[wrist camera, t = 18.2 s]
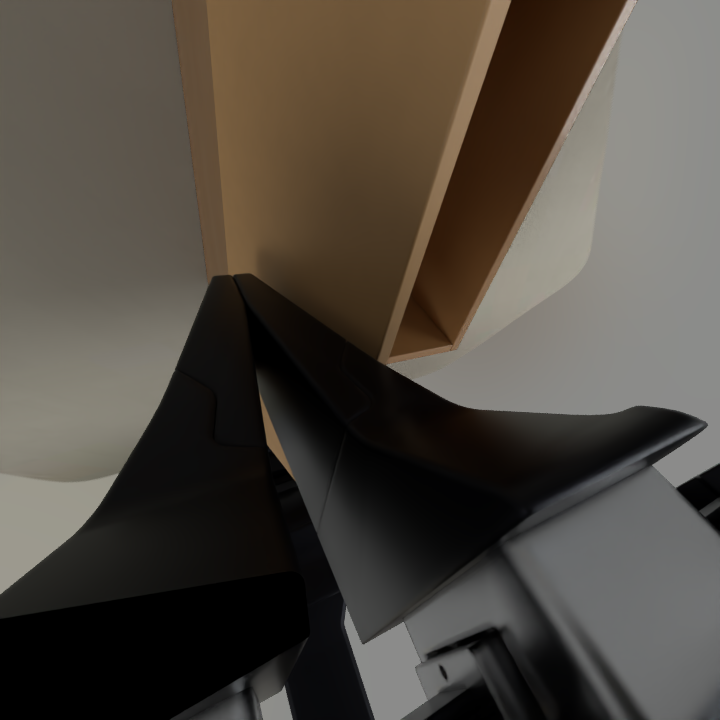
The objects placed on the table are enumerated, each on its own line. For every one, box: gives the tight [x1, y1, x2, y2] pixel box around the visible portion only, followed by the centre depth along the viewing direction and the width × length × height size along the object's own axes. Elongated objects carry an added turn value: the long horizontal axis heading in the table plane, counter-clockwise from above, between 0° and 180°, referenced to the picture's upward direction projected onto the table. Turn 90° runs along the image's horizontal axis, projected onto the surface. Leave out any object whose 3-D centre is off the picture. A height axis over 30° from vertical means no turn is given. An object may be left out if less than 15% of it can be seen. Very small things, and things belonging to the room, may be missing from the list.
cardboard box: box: [172, 0, 638, 364], centre depth 15 cm, size 15×12×8 cm
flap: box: [206, 0, 511, 480], centre depth 9 cm, size 15×6×1 cm
